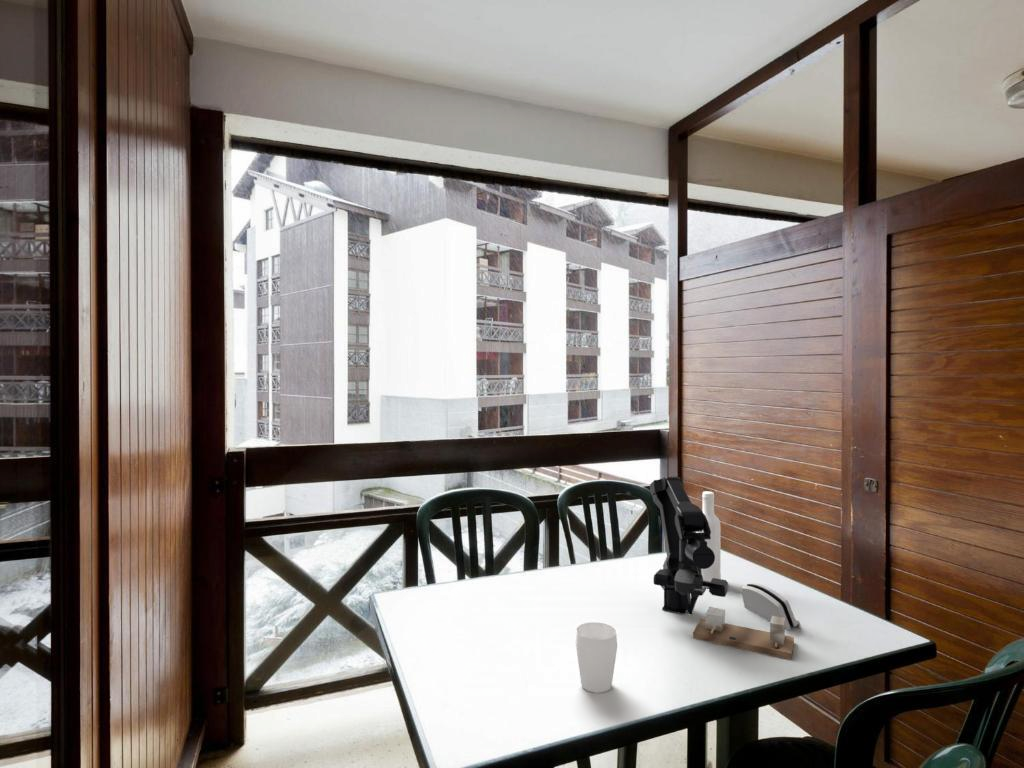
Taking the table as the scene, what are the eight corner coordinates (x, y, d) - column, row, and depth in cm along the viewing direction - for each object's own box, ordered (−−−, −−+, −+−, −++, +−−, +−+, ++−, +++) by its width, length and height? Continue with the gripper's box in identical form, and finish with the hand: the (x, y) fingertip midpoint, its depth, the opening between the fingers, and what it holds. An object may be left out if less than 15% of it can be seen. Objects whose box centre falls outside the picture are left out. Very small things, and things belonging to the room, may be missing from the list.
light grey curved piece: (802, 627, 154) (792, 594, 153) (789, 636, 152) (779, 602, 151) (757, 604, 170) (748, 574, 169) (745, 611, 168) (736, 581, 167)
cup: (572, 675, 129) (572, 622, 129) (611, 673, 130) (611, 621, 130) (580, 697, 120) (580, 640, 120) (622, 695, 121) (622, 639, 121)
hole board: (692, 638, 148) (693, 613, 148) (700, 623, 156) (700, 600, 156) (791, 659, 136) (791, 632, 136) (793, 643, 145) (794, 617, 145)
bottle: (719, 579, 191) (719, 490, 191) (722, 587, 183) (722, 495, 183) (694, 577, 193) (694, 489, 193) (696, 585, 185) (696, 494, 185)
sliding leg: (703, 632, 147) (703, 616, 147) (709, 621, 154) (709, 606, 154) (719, 635, 145) (719, 620, 145) (724, 624, 152) (724, 609, 152)
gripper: (647, 559, 151) (647, 617, 152) (721, 571, 142) (721, 633, 142) (659, 548, 161) (658, 603, 161) (728, 558, 152) (728, 617, 152)
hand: (690, 613), depth 154 cm, fingers closed
